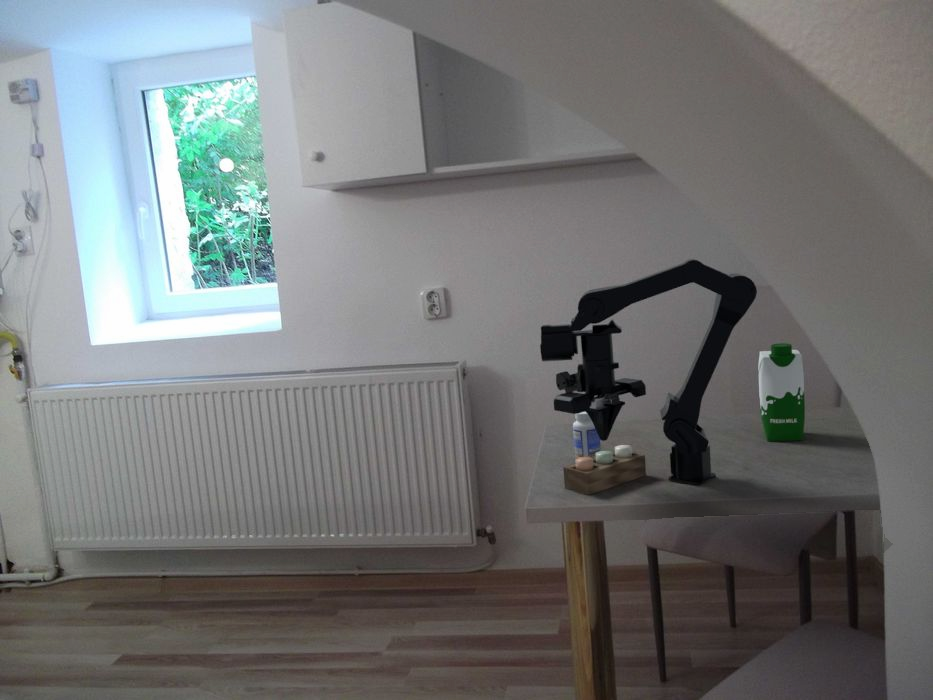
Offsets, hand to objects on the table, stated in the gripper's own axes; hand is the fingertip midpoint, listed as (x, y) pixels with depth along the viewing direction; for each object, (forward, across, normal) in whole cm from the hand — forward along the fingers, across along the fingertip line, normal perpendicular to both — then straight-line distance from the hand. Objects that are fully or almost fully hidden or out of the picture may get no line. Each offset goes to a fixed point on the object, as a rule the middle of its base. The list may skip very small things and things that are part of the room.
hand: (603, 440), depth 157 cm
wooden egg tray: (+8, 0, 0) cm, 8 cm away
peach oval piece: (+5, +5, 0) cm, 7 cm away
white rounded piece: (+5, -5, 0) cm, 7 cm away
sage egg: (+5, 0, 0) cm, 5 cm away
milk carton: (+8, -45, +7) cm, 46 cm away
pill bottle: (+8, -9, -15) cm, 20 cm away
